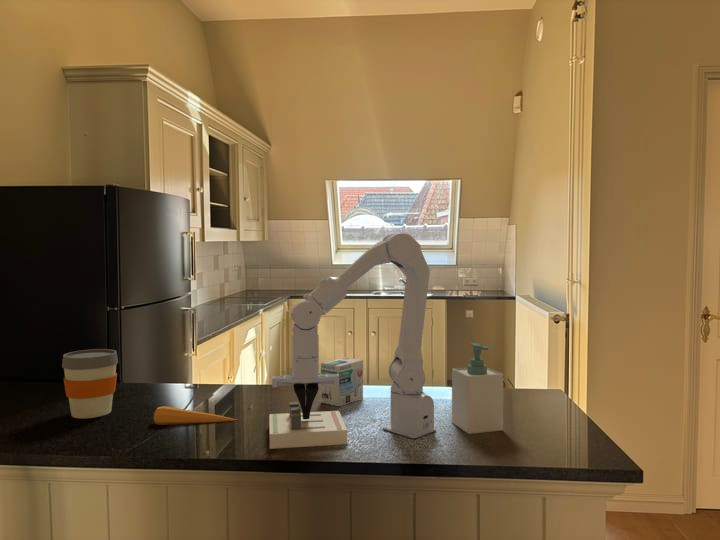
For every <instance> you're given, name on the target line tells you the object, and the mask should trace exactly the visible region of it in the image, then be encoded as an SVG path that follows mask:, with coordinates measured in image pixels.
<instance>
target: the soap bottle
mask: <svg viewBox="0 0 720 540" xmlns="http://www.w3.org/2000/svg"><path fill="white" fill-rule="evenodd" d="M470 345H471V346H472V347H473V348H472V353H473V356H474V357H472V358H471V359H470V363H469V364H467V366H466V367H465V366H464V367H453V368H452V369H451V370H452V371H451V381H452V382H451V422H452V424H453V425H455V426H457V427H458V428H459V429H461V430H462V431H464V432H465V433H466V434H467V435H472V434H473V435H474V434H483V433H492V432H500V431H501V432H502V431H504V373H503V372H500V371H497V370H495V369H492V368H490V367H488V366H487V364H485V360H484V359H483V358H481V355H482V351H483V350H484V351H488V349H489V347H488V346H487V345H483V344H480V343H477V342H470Z"/></svg>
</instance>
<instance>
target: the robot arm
mask: <svg viewBox="0 0 720 540" xmlns="http://www.w3.org/2000/svg"><path fill="white" fill-rule="evenodd" d="M390 263H391V264H393V265H395V266H397V268H398V269H399V271H400V272H402V274H403V275H404V276H405V278H406V279H405V286H404V296H403V301H402V302H403V303H402V312H401V320H400V321H401V322H400V331H399V337H398V345H397V347H396V350H394V355H393V356H394V357H393V360H392V362H390V365H389V367H388V374H389V378H390V380H392V385H391V386H390V424H387V425H383V426H382V427H381V429H382V430H385V431H387V432H391V433H395V434H397V435H400V436H404V437H407V438H410V439H417V438H420V437H423V436H426V435H428V434H431V433H434V432H436V431H437V428H436V427H435V404H434V399H433V398H432V397H431V396H430V395H428V394H426V393H425V392H424V389H423V388H424V385H425V383H426V373H425V371H424V368H423V367H424V358H423V355H422V342H423V341H422V340H423V332H424V326H425V325H424V324H425V315H426V307H427V299H428V291H429V290H428V289H429V281H430V271H431V270H430V267H429V266H428V263H427V260H426V259H425V256H424V254H423V251H422V247H421V244H420V243H419V242H418V241H417V240H416V239H415V238H414V237H413V236H412V235H410V234H408V233H406V232H400V233H395V234H393V233H391V234H388V235H386V236H385V237H384V238H383V239H382V240H380V241H377V242H376V243H374V244H373V245H372V246H371V247H370V248H368V249H367V250H366V251H365V252H363V254H361V256H359V257H358V258H357V259H355V261H353V263H352V264H351V265H349V266H348V267H347V268H346V269H345V270H344V271H343V272H342V273H341V274H340V275H339V276H328V277H327V278H322V279H320V280H319V283H320V284H319V285H318V286H317V287H316V288H315V289H313V290H311V291H310V293H308V294H307V293H305V294H304V295H303V297H302V298H303V299H304V300H300V301H298V302H296V304H294V305H293V306H292V309H291V310H292V311H291V312H290V317H291V319H292V321H293V322H294V323H293V324H292V325H293V327H292V333H293V334H292V337H291V339H292V341H291V343H292V344H291V347H292V350H291V351H292V358H291V359H292V374H286V375H285V374H283V375H279V376H278V375H276V376H271V387H272V388H278V387H291V386H292V387H293V391H294V394H295V395H296V398H297V400H298V403H299V406H300V410H301V413H302V414H303V419H309V417H310V412H312V408H313V407H312V406H313V404H314V401H315V399H316V396H317V394H318V392H319V389H320V388H319V385H320V386H321V385H322V384H334V385H339V375H338V374H321V373H319V371H320V368H319V367H320V365H319V364H320V356H319V352H320V350H319V347H320V346H319V343H320V342H319V339H320V338H319V334H318V328H319V327H318V325H319V323H320V321H321V316H325V315H327V313H329V312H330V311H332V310H333V309H334V308H335V307H336V306H337V305H338V304H339V303H341V302H342V301H344V299H345V298H346V297H347V295H348V294H347V291H348V288H349V287H350V286H352V285H353V284H354V283H356V282H357V281H358V280H359V279H360V278H362V277H363V276H364V275H365V274H367V273H369V271H371V270H372V269H373V268H374V267H375V266H379V265H385V264H390Z"/></svg>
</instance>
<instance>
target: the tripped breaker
mask: <svg viewBox="0 0 720 540" xmlns="http://www.w3.org/2000/svg"><path fill="white" fill-rule="evenodd" d="M293 413H301V406H299V407H294V408H291V414H293Z"/></svg>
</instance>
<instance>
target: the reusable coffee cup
mask: <svg viewBox="0 0 720 540" xmlns="http://www.w3.org/2000/svg"><path fill="white" fill-rule="evenodd" d="M118 358H119V357H118V353H117V350H115V349H107V348H94V349H93V348H92V349H83V350H76V351H70V352H67V353H64V354H63V356H62V363H61V368H63V371H64V372H63V373H64V377H63V384H64V390H65V395H66V396H65V397H66V398H68V402H69V409H70V413H71V414H70V415H71V417H72V418H75V419H93V418H99V417H103V416H106V415H108V414H110V413H111V412H112V407H113V397H114V393H115V392H116V386H117V377H118V373H117V371H116V370H117V364H119V359H118Z"/></svg>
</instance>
